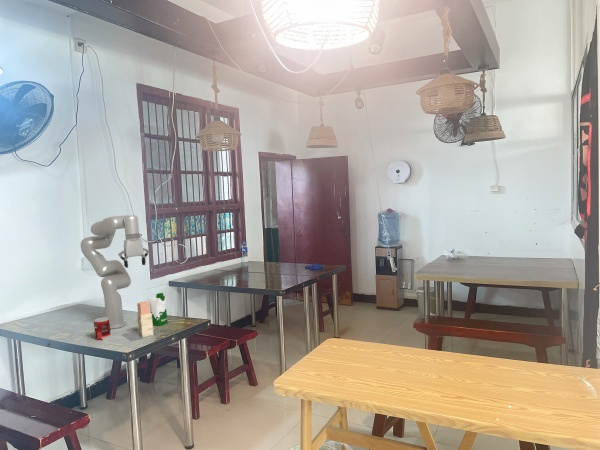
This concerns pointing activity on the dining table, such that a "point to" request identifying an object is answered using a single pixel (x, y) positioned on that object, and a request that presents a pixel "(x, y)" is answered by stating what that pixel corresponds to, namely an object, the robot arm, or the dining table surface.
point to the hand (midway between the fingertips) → (135, 266)
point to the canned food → (102, 328)
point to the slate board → (137, 335)
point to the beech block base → (145, 330)
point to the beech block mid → (144, 319)
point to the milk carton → (158, 309)
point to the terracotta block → (143, 308)
